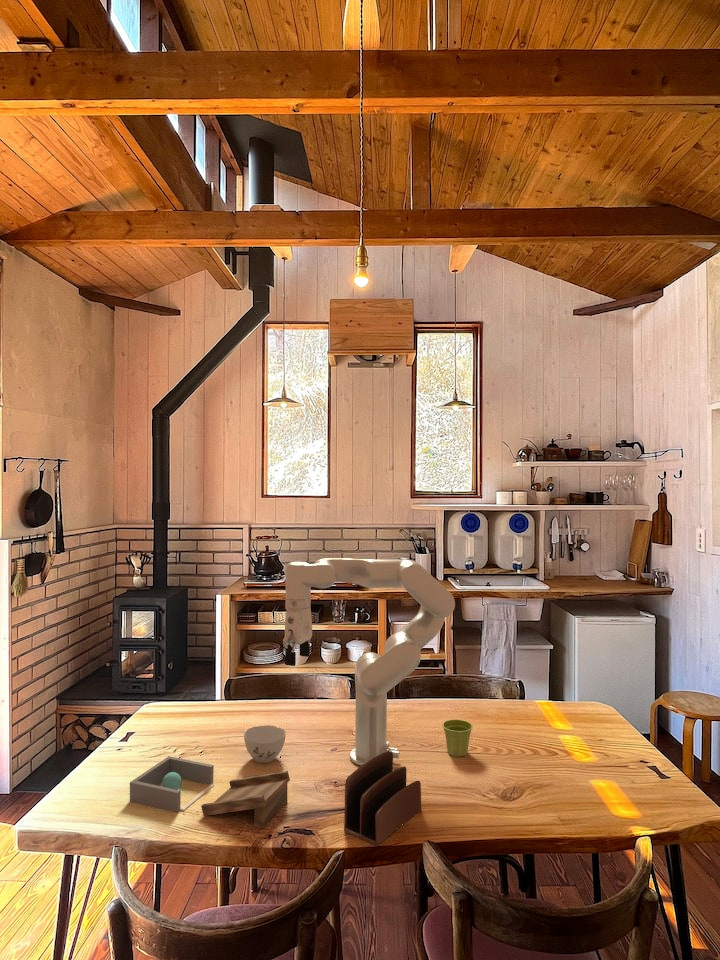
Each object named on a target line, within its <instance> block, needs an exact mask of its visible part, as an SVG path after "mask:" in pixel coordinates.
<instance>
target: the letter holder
mask: <svg viewBox="0 0 720 960" xmlns="http://www.w3.org/2000/svg"><path fill="white" fill-rule="evenodd" d="M393 761H394V758H393V752H392V751H387V752H385V753H382V754H380V755H378V756H376V757H374V758H373V759H371V760H370V761H368V762H367V763H365V764H364V765H362V766H360V767H358V768H357V769H355V770H354V771H353V772H352V773H351V774H349V775H348V776H347V778H346V779H345V784H344V815H343V816H344V818H343V820H344V822H343V823H344V824H343V825H344V826H343V830H344V832H345V833H347V834H349V835H351V836H354V837H355V838H357V839H360V840H362V841H364V842H366V843H369V844H371V845H372V846H375V847H378V846H379V845H380V844H382V843H383V842H384V841H385V840H386V839H388V838H389V837H390V836H392V834H394V833H395V832H396V831H397V830H398V829H399V828H398V827H399V826H401V825H402V824H403V825H405V824H406V823H407V822H409V821H410V820H411V819H413V817H414V816H415V815H417V814H418V813H419V812H420V811H422V783H421V781H420V780H415V781H414V782H413V781H412V782H411V783H409V784H408V785H407V770H408V769H407V767H406V766H401V767H399V768H395V769H394V767H393V766H394V765H393V764H394V762H393ZM393 769H394V770H393ZM410 818H411V819H410ZM406 821H407V822H406ZM405 822H406V823H405ZM404 823H405V824H404ZM403 825H402V826H403ZM402 826H401V827H402ZM397 828H398V829H397ZM396 829H397V830H396ZM395 830H396V831H395ZM394 831H395V832H394ZM393 832H394V833H393ZM389 835H390V836H389ZM388 836H389V837H388ZM382 841H383V842H382Z"/></svg>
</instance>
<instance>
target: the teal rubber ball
mask: <svg viewBox="0 0 720 960" xmlns="http://www.w3.org/2000/svg"><path fill="white" fill-rule="evenodd" d="M181 785H182V779H181V777H180V775H179V774H178V773H176V772H170V773H168V774H167V775H165V777H164V778H163V781H162V782H161V786H162V787H166V788H171V789H175V790H180V787H181Z"/></svg>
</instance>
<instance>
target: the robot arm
mask: <svg viewBox="0 0 720 960" xmlns="http://www.w3.org/2000/svg"><path fill="white" fill-rule="evenodd" d="M335 583H349V584H355V585H359V586H361V587H364V588H370V589H374V588H375V589H377V588H379V589H381V588H383V589H384V588H395V589H397V588H398V589H399V588H403V589H404V590H405V591H406V592H407V593H408V594H409V595H410V596H411V597H412V598H413V600H415V601H416V602H418V604H420V607H419V610H418V613H416V615H415V616H414V617H412V619H411V620H410V621H408V622H407V623H406V624H405V625H403V626H402V627H401V628H400V629H398V630H397V631H395V633H393V634H391V635H390V636H389V637H388V638H387V639H386V641H385V643H384V647H383V648H384V652H383V654H381V655H379V654H378V653H376V652H373V651H371V652H369V651H368V652H364V653H363V654H361V655H360V656H359V658H358V659H357V661H356V663H355V666H354V683H355V725H354V726H355V730H354V732H355V735H354V736H355V738H354V740H355V742H354V743H355V746H354V747H355V748H353V749H352V750H351V751H350V753H349V758H350V761H351V762H353V763H354V764H356V765H358V766H360V767H361V766H362V765H364V764H365V763H367V762H368V761H370V760H371V759H373V758H374V757H376V756H378V755H380V754H382V753H385V752H387V751H392V752H393V759H400V756H401V755H400V751H399V748H396V747H391V746H390V741H388V740H387V731H388V729H387V726H388V725H387V724H388V721H387V720H388V719H387V717H388V716H387V715H388V714H387V711H388V710H387V707H388V695H387V694H388V692H389V691H391V690H392V689H393V688H395V686H397V685H398V684H399V683H401V682H402V681H404V680H405V679H406V678H407V677H408V676H410V675H411V674H412V673H413V672H414V671H415V670H416V669H417V668H418V666H419V665H420V662H421V658H422V656H421V655H422V654H421V650H423V648H424V647H426V646H427V645H428V644H429V643H430V642H431V641H432V640H433V639H435V638H436V636H437V635H438V634H439V633H440V632H441V629H442V628H443V625H444V623H445V619H446V618H447V617H450V615H452V614H453V613H454V610H455V608H456V601H455V598H454V596H453V594H452V593H451V592H450V591H449V590H448V589H447V588H445V586H443V585H442V584H441V583H440V582H439V581H438V580H437V579H436V578H435V577H433V575H432V574H431V573H430V572H429V571H428V570H427V569H426V568H425V567H423V566H422V565H421V564H420V563H419V562H417V561H415V560H413V559H365V558H362V559H359V558H321V559H318V560H316V561H314V562H313V563H312V564H310V563H308V562H305V561H291V562H288V563H287V564H286V566H285V610H286V611H285V621H284V623H285V624H284V638H283V639H282V644H283V649H284V650H283V651H284V665H285V666H291V667H295V666H296V663H297V661H296V660H297V659H296V657H297V656H296V654H297V653H296V651H295V650H296V647H297V645H298V646H299V656H300V657H310V656H311V639H312V637H313V621H312V620H313V618H312V617H313V616H312V610H311V608H312V607H311V604H312V603H311V602H312V600H311V591H312V590H311V589H312V588H317V589H327V588H330V587H332V586H333V585H334V584H335Z"/></svg>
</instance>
